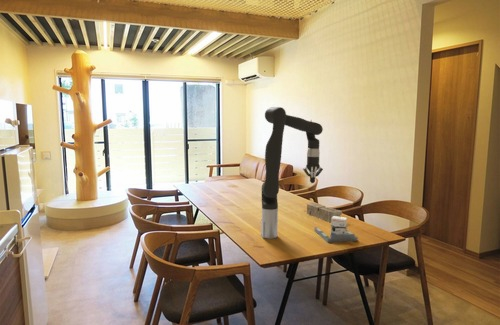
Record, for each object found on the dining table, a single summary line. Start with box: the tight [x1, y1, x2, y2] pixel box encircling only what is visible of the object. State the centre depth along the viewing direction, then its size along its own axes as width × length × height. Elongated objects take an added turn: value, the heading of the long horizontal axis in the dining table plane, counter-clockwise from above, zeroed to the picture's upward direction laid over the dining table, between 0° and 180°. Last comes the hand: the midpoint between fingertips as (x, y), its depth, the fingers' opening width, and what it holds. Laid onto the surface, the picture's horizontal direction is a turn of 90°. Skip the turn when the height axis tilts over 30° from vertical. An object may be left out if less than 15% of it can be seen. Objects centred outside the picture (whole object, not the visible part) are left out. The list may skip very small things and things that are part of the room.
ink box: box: [330, 216, 348, 236], centre depth 196 cm, size 8×5×12 cm, turn 67°
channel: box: [313, 226, 359, 243], centre depth 199 cm, size 18×21×4 cm
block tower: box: [306, 201, 343, 223], centre depth 236 cm, size 8×8×29 cm
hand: (312, 182), depth 210 cm, fingers closed
